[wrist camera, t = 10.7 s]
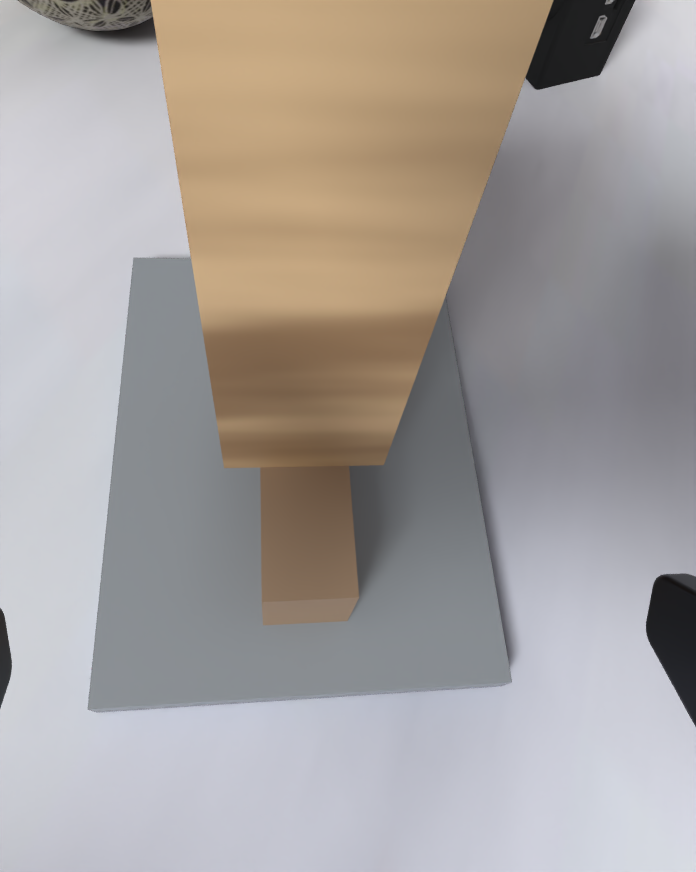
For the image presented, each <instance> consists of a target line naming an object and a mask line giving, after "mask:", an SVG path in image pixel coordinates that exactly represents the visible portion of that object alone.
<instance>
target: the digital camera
mask: <svg viewBox="0 0 696 872" xmlns="http://www.w3.org/2000/svg"><path fill="white" fill-rule="evenodd" d="M634 2H635V0H553V3H552V6H551V8H550V11H549V14H548V17H547V19H546V22H545V25H544V28H543V30H542V33H541V36H540V39H539V41H538V44H537V47H536V49H535V52H534V55H533V58H532V60H531V63H530V66H529V69H528V71H527V74H526V77H525V78H526V79H527V80H528V81H529V82H530V83H531V84H532V86H533V87H534V88H535V89H543V88H547V87H551V86H555V85H560V84H564V83H568V82H572V81H577V80H581V79H585V78H589V77H593V76H598V75H600V73H601V71H602V69H603V67H604V65H605V63H606V61H607V59H608V56H609V54H610V52H611V50H612V48H613V46H614V44H615V42H616V40H617V37H618V35H619V33H620V31H621V29H622V27H623V25H624V23H625V21H626V19H627V16H628V14H629V12H630V10H631V8H632V6H633V4H634Z"/></svg>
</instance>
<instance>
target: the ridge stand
mask: <svg viewBox="0 0 696 872" xmlns="http://www.w3.org/2000/svg"><path fill="white" fill-rule="evenodd" d="M511 682H512V679H511V673H510V668H509V662H508V656H507V650H506V644H505V639H504V633H503V627H502V621H501V615H500V610H499V604H498V598H497V592H496V586H495V581H494V575H493V569H492V563H491V557H490V552H489V546H488V540H487V534H486V528H485V523H484V517H483V511H482V505H481V499H480V493H479V488H478V482H477V476H476V470H475V464H474V459H473V453H472V447H471V441H470V435H469V430H468V424H467V418H466V412H465V406H464V401H463V395H462V389H461V383H460V377H459V372H458V366H457V360H456V354H455V348H454V343H453V337H452V331H451V325H450V319H449V314H448V308H447V302H446V296H445V299H444V301H443V304H442V307H441V310H440V312H439V315H438V318H437V321H436V323H435V326H434V329H433V332H432V334H431V337H430V340H429V343H428V345H427V348H426V351H425V354H424V356H423V359H422V362H421V364H420V367H419V370H418V373H417V375H416V378H415V381H414V384H413V386H412V389H411V392H410V395H409V397H408V400H407V403H406V406H405V408H404V411H403V414H402V416H401V419H400V422H399V425H398V427H397V430H396V433H395V436H394V438H393V441H392V444H391V447H390V449H389V452H388V455H387V458H386V460H385V463H384V465H369V466H315V467H260V468H224V465H223V458H222V452H221V445H220V439H219V433H218V426H217V420H216V414H215V407H214V401H213V395H212V388H211V382H210V375H209V369H208V363H207V356H206V350H205V344H204V337H203V331H202V325H201V318H200V312H199V305H198V299H197V293H196V286H195V280H194V274H193V267H192V261H191V259H184V258H133V268H132V278H131V287H130V297H129V307H128V317H127V327H126V337H125V347H124V356H123V366H122V376H121V386H120V396H119V406H118V416H117V425H116V435H115V445H114V455H113V465H112V475H111V485H110V494H109V504H108V514H107V524H106V534H105V544H104V554H103V563H102V573H101V583H100V593H99V603H98V613H97V623H96V633H95V642H94V652H93V662H92V672H91V682H90V692H89V702H88V710H91V711H94V712H111V711H126V710H142V709H157V708H172V707H188V706H203V705H219V704H234V703H249V702H265V701H280V700H295V699H311V698H326V697H342V696H357V695H372V694H388V693H403V692H419V691H434V690H449V689H465V688H480V687H495V686H503V685H506V684H508V683H511Z"/></svg>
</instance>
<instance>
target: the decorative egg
mask: <svg viewBox="0 0 696 872" xmlns="http://www.w3.org/2000/svg"><path fill="white" fill-rule="evenodd" d="M18 1H19V2H21V3H22V4H24V5H25V6H27V7H28V8H29V9H31V10H33V11H35V12H37V13H39V14H40V15H42V16H45V17H47V18H49V19H51V20H53V21H56V22H58V23H60V24H64V25H67V26H71V27H74V28H79V29H85V30H94V31H109V30H119V29H124V28H128V27H131V26H134V25H137V24H140V23H142V22H144V21H146V20H148V19H150V18H152V17H153V13H152V6H151V0H18Z"/></svg>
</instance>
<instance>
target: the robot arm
mask: <svg viewBox="0 0 696 872" xmlns="http://www.w3.org/2000/svg"><path fill="white" fill-rule="evenodd" d="M646 632H647V637H648V640H649V642H650V644H651V646H652V648H653V650H654V652H655V653H656V655H657V657H658V659H659V661H660V663H661V664H662V666H663V668H664V670H665V672H666V674H667V675H668V677H669V679H670V681H671V683H672V685H673V686H674V688H675V690H676V692H677V694H678V696H679V697H680V699H681V701H682V703H683V705H684V707H685V708H686V710H687V712H688V714H689V716H690V718H691V719H692V721H693V723H694V724H695V726H696V577H695V576H692V575H689V574H664V575H660V576H659V577H658V578H656V580H655V582H654V585H653V589H652V594H651V600H650V605H649V610H648V616H647V621H646ZM11 669H12V660H11V653H10V647H9V641H8V634H7V628H6V622H5V617H4V614H3V611H2V609H1V608H0V708H1V705H2V702H3V699H4V695H5V692H6V689H7V686H8V683H9V680H10V676H11Z"/></svg>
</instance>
